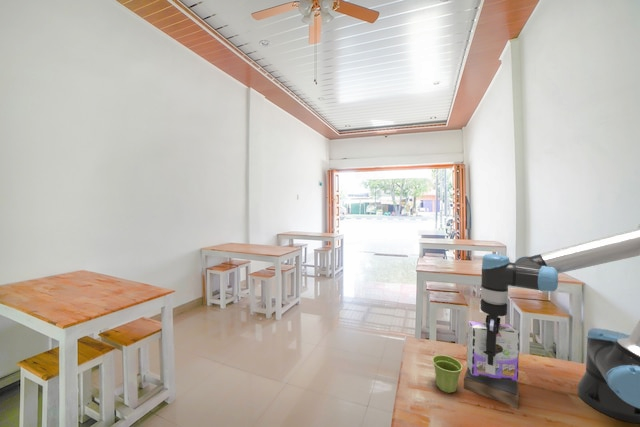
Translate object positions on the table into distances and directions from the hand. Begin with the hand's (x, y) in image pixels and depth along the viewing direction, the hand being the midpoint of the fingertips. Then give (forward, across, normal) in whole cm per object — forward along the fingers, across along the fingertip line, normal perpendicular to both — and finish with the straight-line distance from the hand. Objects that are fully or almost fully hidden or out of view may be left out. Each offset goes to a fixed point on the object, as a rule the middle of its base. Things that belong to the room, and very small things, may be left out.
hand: (491, 366), depth 90 cm
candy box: (+2, 0, 0) cm, 2 cm away
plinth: (+8, 0, 0) cm, 8 cm away
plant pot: (+8, +8, -12) cm, 17 cm away
